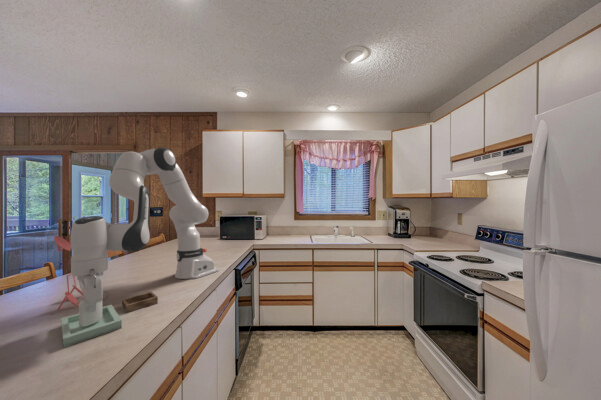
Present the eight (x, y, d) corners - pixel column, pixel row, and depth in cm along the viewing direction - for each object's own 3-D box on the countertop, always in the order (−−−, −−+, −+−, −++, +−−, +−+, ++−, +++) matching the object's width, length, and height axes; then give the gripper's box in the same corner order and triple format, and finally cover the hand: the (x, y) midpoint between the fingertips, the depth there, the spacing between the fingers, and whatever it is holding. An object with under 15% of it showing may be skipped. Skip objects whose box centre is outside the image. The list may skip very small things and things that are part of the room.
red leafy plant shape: (45, 319, 79) (47, 218, 80) (69, 294, 101) (70, 215, 102) (103, 308, 88) (104, 217, 88) (113, 287, 109) (114, 214, 110)
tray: (60, 325, 75) (60, 318, 75) (111, 311, 85) (111, 304, 85) (63, 347, 64) (63, 338, 64) (121, 327, 74) (121, 320, 74)
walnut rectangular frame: (151, 297, 97) (151, 291, 97) (157, 303, 91) (157, 296, 91) (121, 305, 89) (121, 299, 89) (126, 312, 84) (126, 305, 84)
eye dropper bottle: (79, 322, 74) (79, 286, 74) (102, 317, 78) (102, 282, 78) (78, 328, 71) (78, 290, 71) (102, 322, 75) (101, 285, 75)
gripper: (108, 270, 70) (109, 315, 70) (98, 259, 83) (99, 297, 84) (79, 276, 65) (80, 324, 65) (74, 263, 79) (74, 303, 79)
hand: (91, 308), depth 74 cm, fingers closed on eye dropper bottle, 3 cm apart
